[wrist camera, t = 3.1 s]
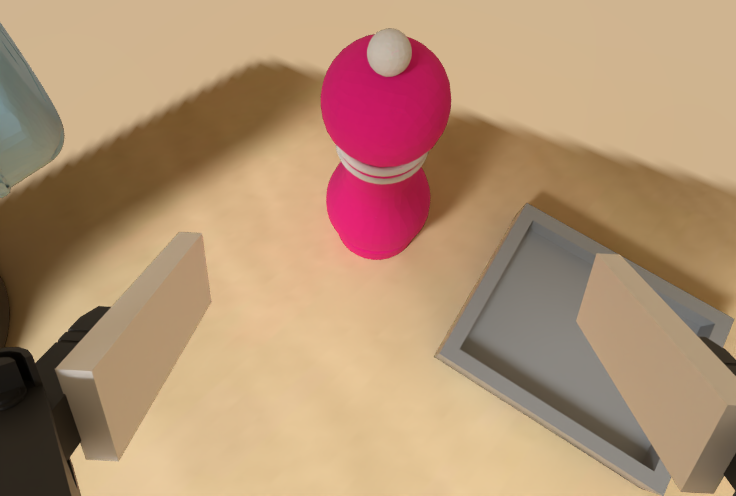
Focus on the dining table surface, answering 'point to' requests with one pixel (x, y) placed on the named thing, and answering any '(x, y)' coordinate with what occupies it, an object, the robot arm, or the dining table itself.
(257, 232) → the dining table surface
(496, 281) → the tray
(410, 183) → the pepper mill
